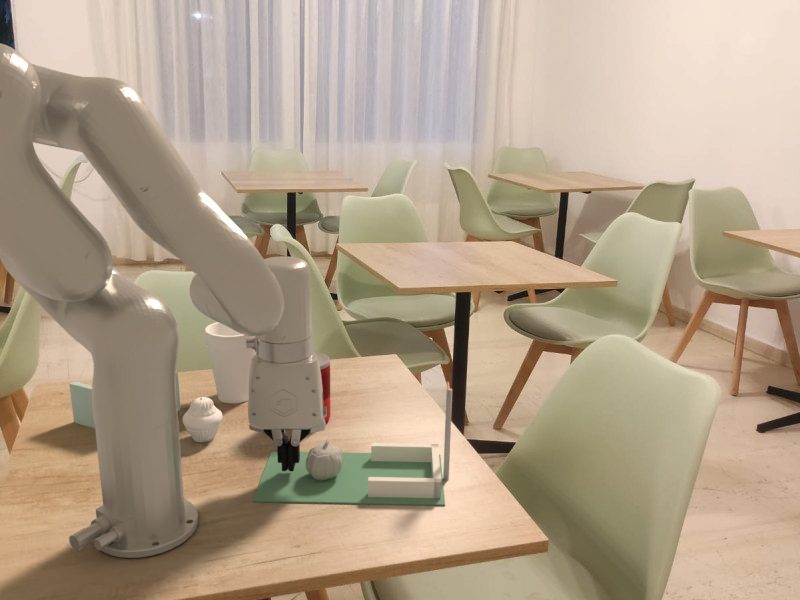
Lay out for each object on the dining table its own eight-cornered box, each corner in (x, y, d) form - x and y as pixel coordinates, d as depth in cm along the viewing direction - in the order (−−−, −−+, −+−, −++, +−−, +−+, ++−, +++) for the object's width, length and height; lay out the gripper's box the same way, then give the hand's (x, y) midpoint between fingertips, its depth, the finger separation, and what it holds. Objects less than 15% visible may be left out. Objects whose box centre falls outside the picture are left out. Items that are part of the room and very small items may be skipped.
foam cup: (221, 384, 138) (217, 318, 134) (268, 387, 137) (266, 321, 133) (201, 405, 129) (196, 335, 125) (251, 409, 128) (248, 338, 124)
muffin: (183, 431, 119) (180, 391, 117) (221, 427, 121) (219, 388, 119) (184, 449, 113) (181, 407, 111) (225, 444, 115) (223, 403, 113)
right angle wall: (180, 412, 127) (177, 371, 125) (128, 441, 117) (124, 397, 115) (128, 398, 132) (124, 359, 130) (74, 425, 122) (69, 383, 120)
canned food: (334, 411, 127) (334, 352, 124) (325, 432, 120) (324, 369, 117) (291, 409, 128) (289, 349, 125) (279, 429, 120) (277, 367, 117)
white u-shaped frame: (368, 498, 101) (368, 404, 97) (371, 458, 111) (372, 373, 108) (450, 499, 101) (454, 406, 97) (446, 460, 111) (450, 374, 108)
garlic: (324, 461, 110) (324, 430, 109) (352, 472, 107) (352, 440, 106) (296, 478, 105) (296, 445, 104) (325, 490, 102) (324, 456, 101)
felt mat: (253, 501, 100) (253, 500, 99) (271, 452, 113) (271, 451, 113) (444, 505, 99) (445, 504, 99) (440, 455, 113) (440, 454, 113)
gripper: (224, 356, 97) (231, 479, 102) (337, 357, 97) (338, 480, 102) (236, 337, 104) (242, 453, 110) (341, 338, 104) (342, 454, 110)
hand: (289, 466), depth 106 cm, fingers closed
